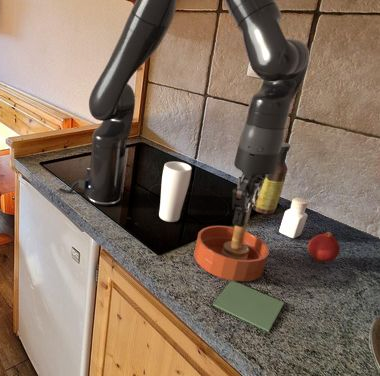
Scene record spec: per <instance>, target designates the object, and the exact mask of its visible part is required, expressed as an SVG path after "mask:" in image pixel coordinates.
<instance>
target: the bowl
mask: <svg viewBox="0 0 380 376" xmlns="http://www.w3.org/2000/svg"><path fill="white" fill-rule="evenodd" d="M233 232H234V226H233V227H232V226H228V225H211V226H207V227H204V228H202V229H201V230H200V231H199V232H198V233H197V238H196V243H195V248H194V252H193V257H194V259H195V262H196V263H197V264H198V265H199V267H201V268H202V269H203V270H205V271H206V272H207V273H209V274H210V275H213V276H214V277H216V278H219V279H223V280H226V281H230V282H231V280H233V281H235V282H251V281H255V280H257V279H259V278H261V277H262V275H263V273H264V272H265V268H266V264H267V262H268V259H269V255H270V250H269V247H268V245H267V244H266V242H265V241H263V240H262V239H261V238H260V237H258V236H257V235H256V234H253V233H252V232H250V231H247V230H245V234H244V239H243V244H244V245H246V246H247V247H248V248H249V253H248V258H247V260H238V259H233V258H229V257H225V256H223V255H222V250H223V245H224V243H225V242H228V241H232V237H233Z"/></svg>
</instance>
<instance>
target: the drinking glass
mask: <svg viewBox="0 0 380 376" xmlns="http://www.w3.org/2000/svg"><path fill="white" fill-rule="evenodd" d="M191 176H192V166H191V165H189V164H188V163H185V162H182V161H168V162H165V163H164V166H163V170H162V176H161V184H160V185H161V186H160V187H161V188H160V203H159V211H158V216H159V218H160V219H161V220H162V221H164V222H168V223H175V222H178V221H179V220H180V218H181V213H182V210H183V206H184V203H185V199H186V195H187V192H188V189H189V186H190V181H191Z"/></svg>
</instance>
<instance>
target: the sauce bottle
mask: <svg viewBox="0 0 380 376" xmlns="http://www.w3.org/2000/svg"><path fill="white" fill-rule="evenodd" d="M290 149H291V145H290V143H288V142H284V141H283V143H282V147H281V151H280V154H279V158H278V161H277V165H276V169H275V171H274V172H273V173H272V174H269V175H266V178H265V180H264V183H263V185H262V188H261V190H260V193H259V196H258V199H257V201H255V202H254V203H255V204H254V205H253V207H252V206H251V207H252V210H253V211H254V212H257V213H260V214H263V215H264V214H265V215H272V214H274V213H275V212H276V209H277V207H278V204H279V202H280V201H279V200H280V197H281V194H282V191H283V187H284V184H285V181H286V176H287V173H288V166H287V164H286V160H287V156H288V152H290Z"/></svg>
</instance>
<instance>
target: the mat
mask: <svg viewBox="0 0 380 376" xmlns="http://www.w3.org/2000/svg"><path fill="white" fill-rule="evenodd" d="M284 305H285V302H283V301H282V300H280V299H277V298H275V297H272V296H269V295H268V294H265V293H263V292H260V291H258V290H256V289H254V288H251V287H249V286H246V285H244V284H242V283H240V282H238V281H233V280H231V281H230V282H229V283H228V284H227V285H226V287H224V289H223V290H222V291H221V293H220V294H219V296H218V297H217V298H216V299H215V301H214V302H213V303H212V306H213V307H215V308H217V309H219V310H221V311H223V312H225V313H228V314H230V315H232V316H234V317H236V318H238V319H240V320H242V321H244V322H247V323H248V324H250V325H253V326H254V327H257V328H258V329H261V330H263V331H265V332H268V333H269V332H270V331H271V329H272V327H273V325H274V323H275V321H276V319H277V318H278V316H279V314H280V312H281V310H282V309H283V307H284Z"/></svg>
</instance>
